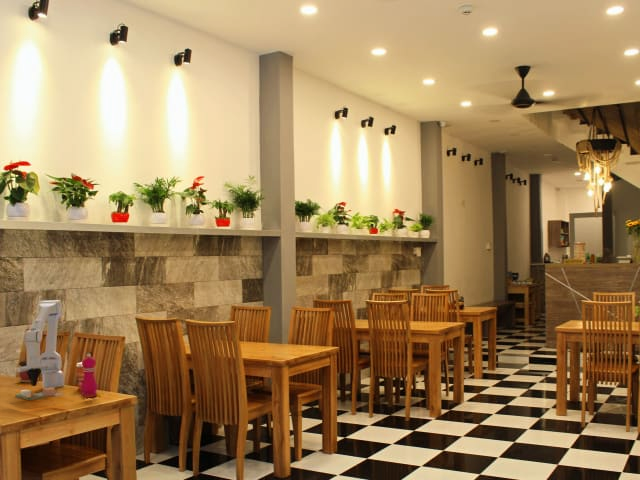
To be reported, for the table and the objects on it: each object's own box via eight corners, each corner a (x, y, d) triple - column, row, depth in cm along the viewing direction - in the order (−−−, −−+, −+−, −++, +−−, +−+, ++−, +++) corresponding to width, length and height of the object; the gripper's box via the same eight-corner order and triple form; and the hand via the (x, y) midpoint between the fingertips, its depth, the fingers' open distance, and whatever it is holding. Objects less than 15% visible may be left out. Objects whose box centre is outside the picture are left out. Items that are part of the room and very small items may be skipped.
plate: (50, 394, 330) (50, 390, 330) (64, 397, 321) (64, 394, 321) (30, 397, 323) (30, 394, 323) (44, 400, 314) (44, 397, 314)
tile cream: (26, 389, 320) (20, 390, 317) (30, 390, 317) (24, 391, 315) (26, 398, 319) (20, 399, 317) (31, 399, 317) (24, 400, 315)
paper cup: (73, 392, 331) (72, 363, 332) (84, 390, 338) (83, 361, 339) (86, 393, 328) (85, 364, 329) (97, 390, 336) (96, 361, 336)
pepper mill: (101, 396, 321) (100, 352, 322) (91, 399, 314) (90, 355, 315) (88, 395, 324) (87, 352, 324) (77, 398, 317) (77, 354, 317)
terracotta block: (51, 393, 322) (51, 387, 322) (55, 394, 319) (55, 388, 319) (42, 395, 319) (42, 388, 319) (46, 396, 316) (46, 389, 316)
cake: (15, 382, 365) (14, 348, 366) (25, 379, 375) (24, 346, 375) (33, 382, 364) (33, 348, 364) (43, 379, 373) (43, 346, 373)
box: (30, 397, 323) (30, 391, 323) (44, 400, 314) (44, 395, 314) (15, 399, 318) (15, 394, 318) (29, 403, 308) (29, 397, 308)
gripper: (21, 358, 313) (22, 389, 312) (52, 354, 323) (53, 384, 323) (14, 357, 317) (15, 387, 317) (45, 353, 328) (45, 382, 328)
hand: (33, 385), depth 320 cm, fingers closed
